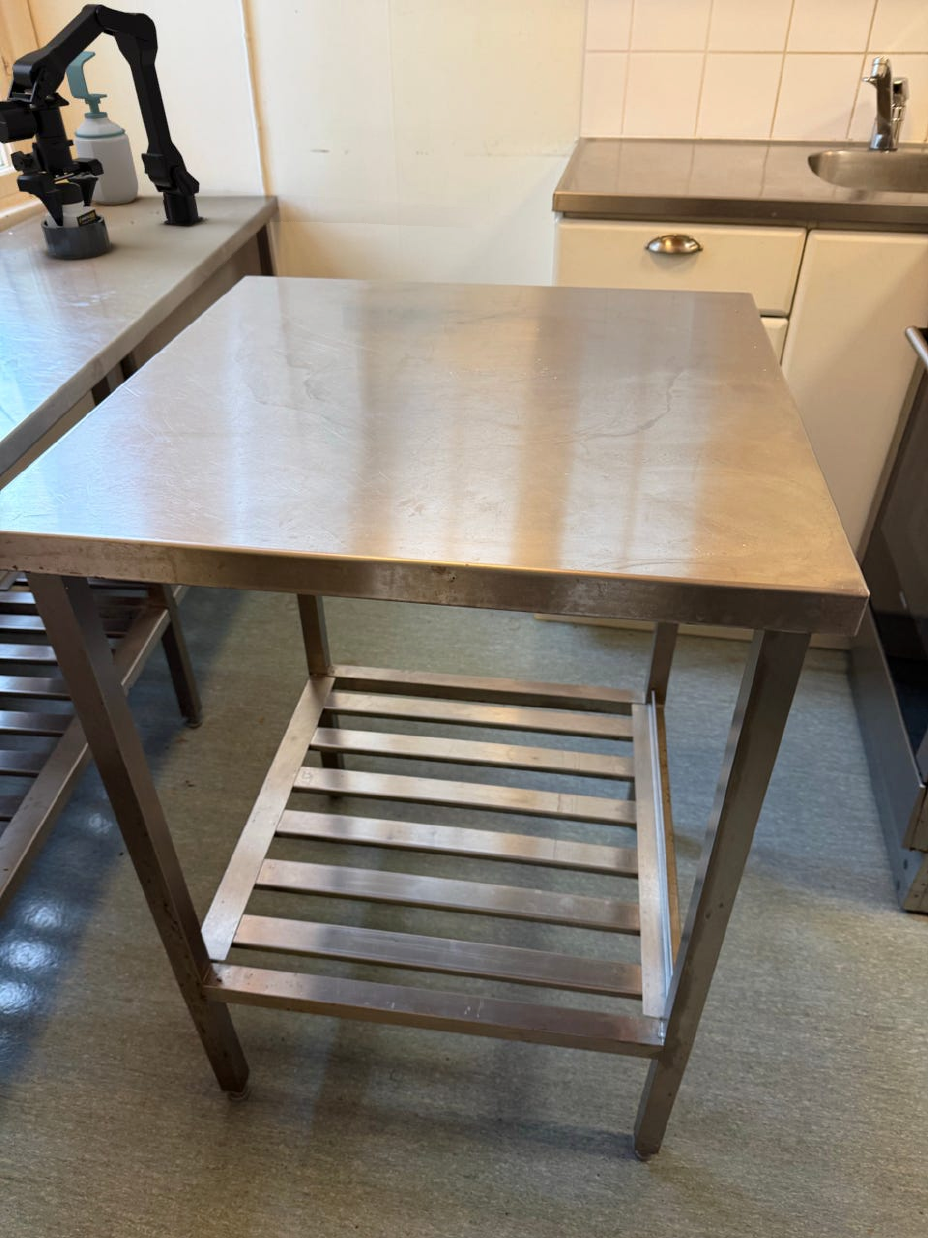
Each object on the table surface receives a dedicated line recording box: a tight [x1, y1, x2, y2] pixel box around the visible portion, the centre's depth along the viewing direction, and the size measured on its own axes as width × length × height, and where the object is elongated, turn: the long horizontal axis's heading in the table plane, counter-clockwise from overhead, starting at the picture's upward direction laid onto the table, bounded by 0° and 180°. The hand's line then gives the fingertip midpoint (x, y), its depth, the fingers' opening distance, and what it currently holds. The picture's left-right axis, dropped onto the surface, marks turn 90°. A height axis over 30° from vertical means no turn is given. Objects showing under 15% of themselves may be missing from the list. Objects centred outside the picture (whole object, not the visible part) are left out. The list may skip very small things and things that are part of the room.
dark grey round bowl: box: [40, 213, 112, 261], centre depth 183 cm, size 12×12×6 cm
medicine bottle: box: [44, 181, 98, 228], centre depth 181 cm, size 7×7×12 cm
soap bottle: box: [65, 50, 139, 206], centre depth 211 cm, size 12×12×31 cm
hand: (73, 221), depth 182 cm, fingers closed on medicine bottle, 7 cm apart
